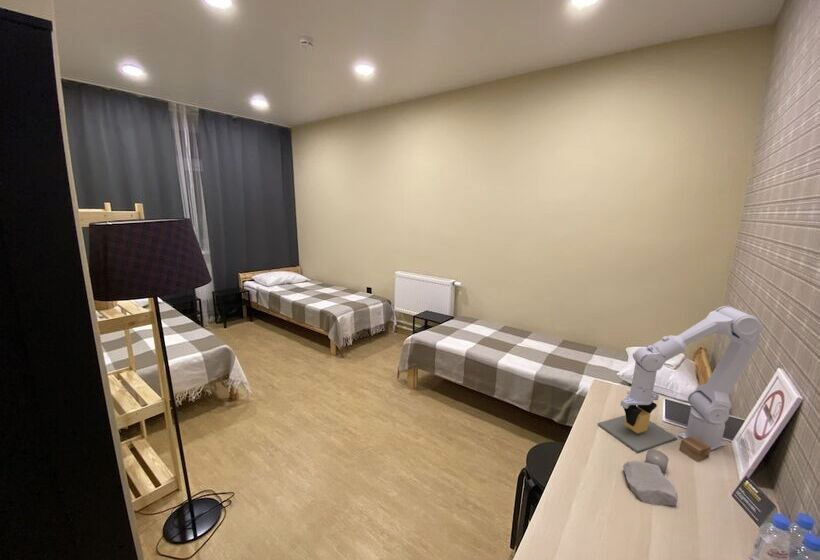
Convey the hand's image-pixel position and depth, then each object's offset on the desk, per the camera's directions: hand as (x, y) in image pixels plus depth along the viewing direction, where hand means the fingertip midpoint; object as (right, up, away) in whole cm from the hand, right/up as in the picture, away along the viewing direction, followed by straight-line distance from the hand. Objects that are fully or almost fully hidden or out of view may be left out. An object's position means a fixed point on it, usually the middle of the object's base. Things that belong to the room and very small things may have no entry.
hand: (635, 422), depth 110 cm
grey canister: (-4, -7, -13) cm, 16 cm away
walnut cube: (+12, -6, -8) cm, 16 cm away
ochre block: (0, -2, 0) cm, 2 cm away
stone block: (-11, -9, -20) cm, 24 cm away
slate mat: (+1, -4, +1) cm, 4 cm away
